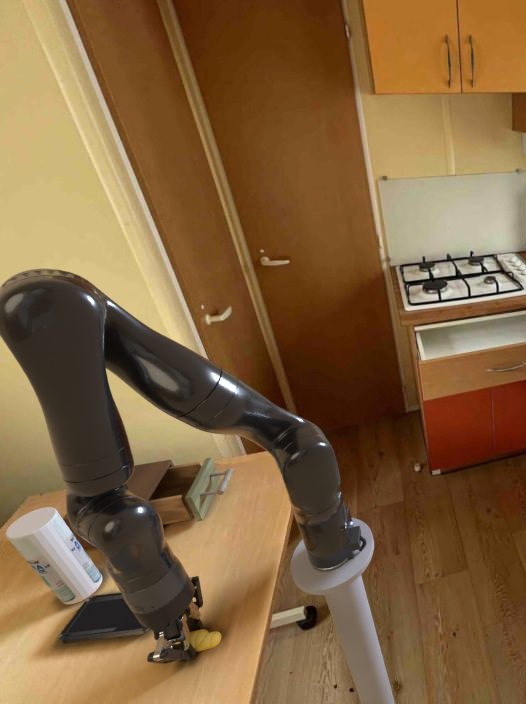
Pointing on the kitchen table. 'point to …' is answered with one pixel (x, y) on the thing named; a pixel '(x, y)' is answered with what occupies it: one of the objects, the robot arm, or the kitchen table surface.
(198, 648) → the yellow cheese puff
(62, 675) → the kitchen table surface
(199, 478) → the drawer
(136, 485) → the cabinet
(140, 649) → the kitchen table surface
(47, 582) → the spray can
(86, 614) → the phone
